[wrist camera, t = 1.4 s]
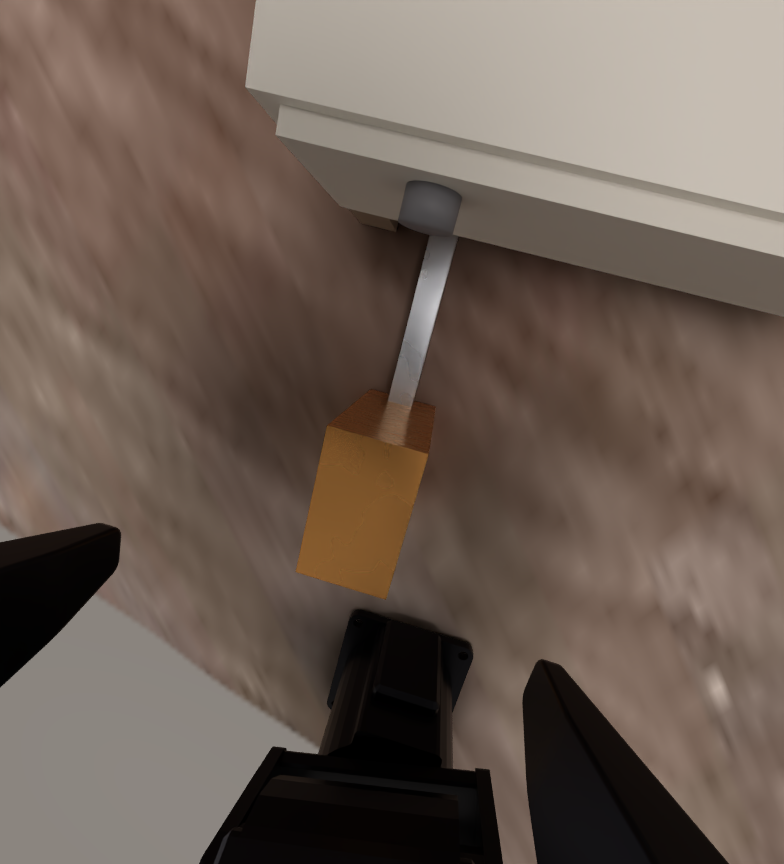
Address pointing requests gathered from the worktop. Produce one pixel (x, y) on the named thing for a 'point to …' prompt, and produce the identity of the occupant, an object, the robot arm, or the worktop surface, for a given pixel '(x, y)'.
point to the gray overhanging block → (547, 127)
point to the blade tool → (377, 458)
